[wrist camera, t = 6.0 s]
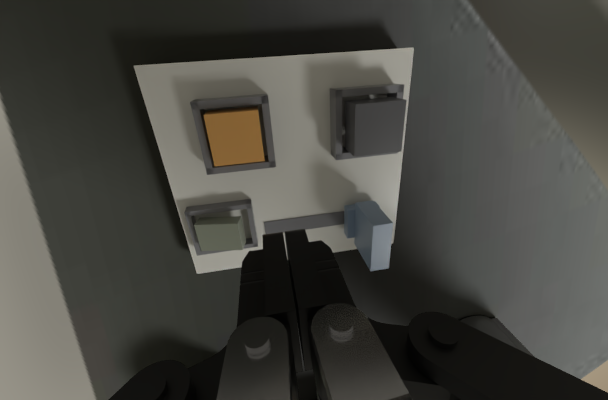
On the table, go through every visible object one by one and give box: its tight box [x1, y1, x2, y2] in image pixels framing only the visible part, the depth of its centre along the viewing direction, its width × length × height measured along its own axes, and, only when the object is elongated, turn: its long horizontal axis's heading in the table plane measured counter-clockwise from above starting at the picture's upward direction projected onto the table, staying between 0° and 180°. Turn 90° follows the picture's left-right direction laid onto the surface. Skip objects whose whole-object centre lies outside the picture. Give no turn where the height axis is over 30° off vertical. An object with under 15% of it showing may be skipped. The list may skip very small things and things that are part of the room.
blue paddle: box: [344, 200, 393, 271], centre depth 24 cm, size 3×4×5 cm
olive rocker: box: [194, 216, 246, 251], centre depth 23 cm, size 4×3×1 cm
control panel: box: [134, 48, 414, 274], centre depth 24 cm, size 20×18×4 cm
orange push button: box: [203, 106, 265, 166], centre depth 20 cm, size 4×4×2 cm
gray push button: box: [345, 97, 406, 157], centre depth 20 cm, size 4×4×2 cm
